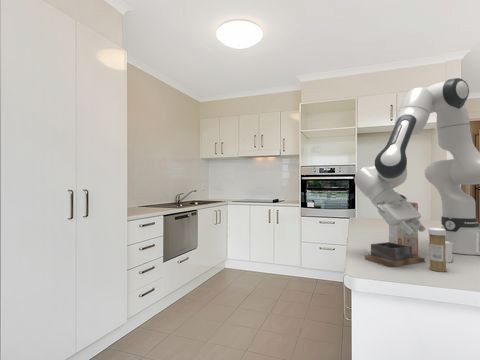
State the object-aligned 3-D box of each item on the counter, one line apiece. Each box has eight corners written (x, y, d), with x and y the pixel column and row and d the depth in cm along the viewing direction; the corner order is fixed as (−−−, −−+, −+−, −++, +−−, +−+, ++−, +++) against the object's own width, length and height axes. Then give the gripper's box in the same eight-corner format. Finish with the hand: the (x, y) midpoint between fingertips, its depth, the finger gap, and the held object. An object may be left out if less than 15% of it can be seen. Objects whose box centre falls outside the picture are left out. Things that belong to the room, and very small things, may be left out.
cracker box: (419, 255, 108) (418, 202, 109) (403, 255, 109) (402, 202, 110) (402, 248, 122) (402, 200, 123) (388, 247, 123) (387, 200, 123)
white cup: (448, 259, 103) (448, 240, 103) (456, 264, 97) (456, 244, 97) (427, 257, 105) (427, 239, 106) (433, 262, 99) (433, 242, 99)
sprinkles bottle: (449, 270, 89) (448, 228, 89) (442, 272, 87) (441, 230, 87) (433, 267, 93) (432, 227, 93) (426, 269, 91) (425, 228, 91)
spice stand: (397, 255, 109) (397, 241, 109) (424, 262, 99) (424, 246, 99) (364, 259, 103) (364, 244, 103) (390, 267, 93) (390, 250, 93)
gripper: (380, 196, 95) (412, 228, 86) (406, 195, 107) (436, 223, 99) (367, 208, 98) (397, 240, 90) (394, 206, 110) (422, 234, 102)
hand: (417, 231), depth 94 cm, fingers open, 8 cm apart
